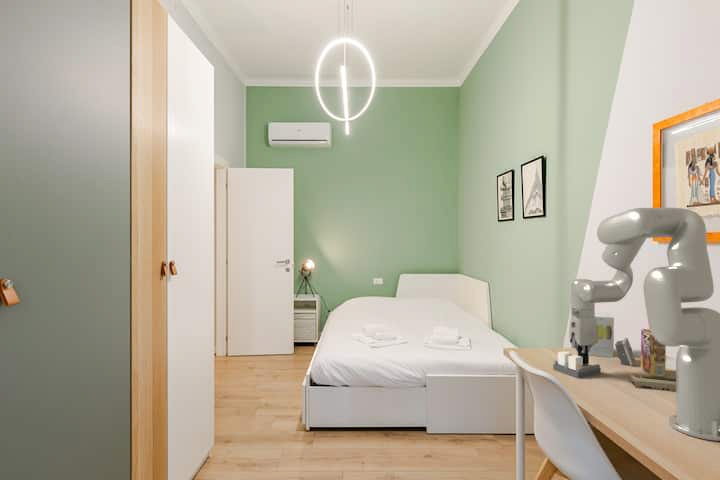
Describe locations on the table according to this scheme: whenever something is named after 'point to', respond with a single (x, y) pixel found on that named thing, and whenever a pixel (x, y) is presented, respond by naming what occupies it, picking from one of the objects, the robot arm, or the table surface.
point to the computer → (653, 382)
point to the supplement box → (604, 336)
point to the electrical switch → (625, 352)
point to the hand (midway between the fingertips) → (583, 362)
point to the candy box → (652, 354)
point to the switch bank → (578, 370)
